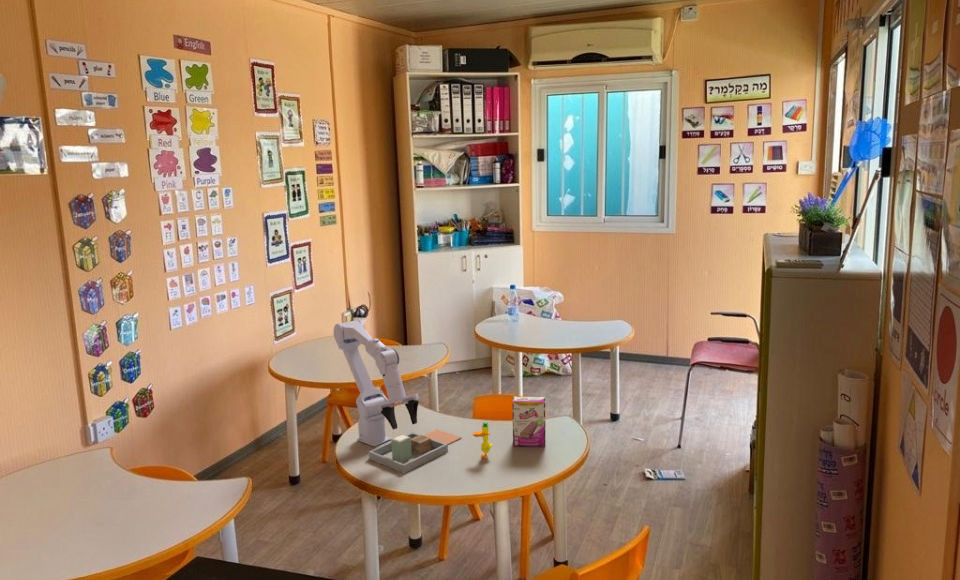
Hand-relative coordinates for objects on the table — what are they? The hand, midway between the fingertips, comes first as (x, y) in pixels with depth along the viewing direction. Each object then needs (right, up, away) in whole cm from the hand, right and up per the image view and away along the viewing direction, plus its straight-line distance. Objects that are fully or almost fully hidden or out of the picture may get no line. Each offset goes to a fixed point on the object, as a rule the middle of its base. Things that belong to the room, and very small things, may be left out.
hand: (405, 426), depth 226 cm
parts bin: (+1, -11, +5) cm, 12 cm away
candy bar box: (+41, -8, +10) cm, 43 cm away
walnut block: (+4, -10, +9) cm, 14 cm away
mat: (+10, -8, +17) cm, 22 cm away
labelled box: (-1, -11, +3) cm, 11 cm away
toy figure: (+26, -11, +2) cm, 28 cm away
